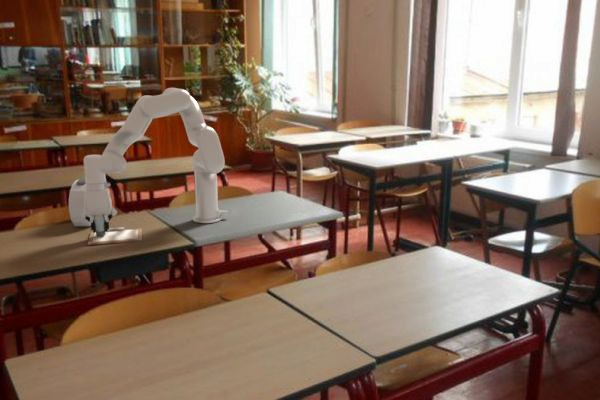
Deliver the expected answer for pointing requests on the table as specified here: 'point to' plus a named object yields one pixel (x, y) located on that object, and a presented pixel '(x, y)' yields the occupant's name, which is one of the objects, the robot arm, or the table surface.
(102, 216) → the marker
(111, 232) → the clipboard
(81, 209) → the alarm clock
